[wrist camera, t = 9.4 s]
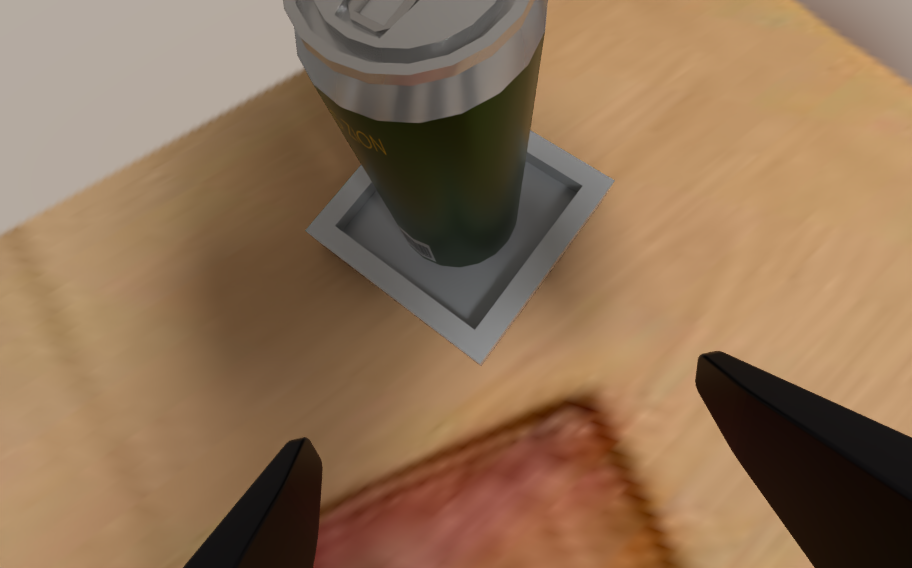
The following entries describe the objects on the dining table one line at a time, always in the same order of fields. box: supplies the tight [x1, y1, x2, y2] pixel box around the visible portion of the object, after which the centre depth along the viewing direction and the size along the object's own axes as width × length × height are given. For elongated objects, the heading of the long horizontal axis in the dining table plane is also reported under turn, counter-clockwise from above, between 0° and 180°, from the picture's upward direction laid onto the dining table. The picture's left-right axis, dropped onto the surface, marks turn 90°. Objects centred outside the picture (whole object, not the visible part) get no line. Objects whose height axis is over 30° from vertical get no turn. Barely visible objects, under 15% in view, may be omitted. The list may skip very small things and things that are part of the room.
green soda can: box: [283, 0, 548, 267], centre depth 13 cm, size 5×5×12 cm
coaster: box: [305, 130, 615, 366], centre depth 19 cm, size 10×10×2 cm
